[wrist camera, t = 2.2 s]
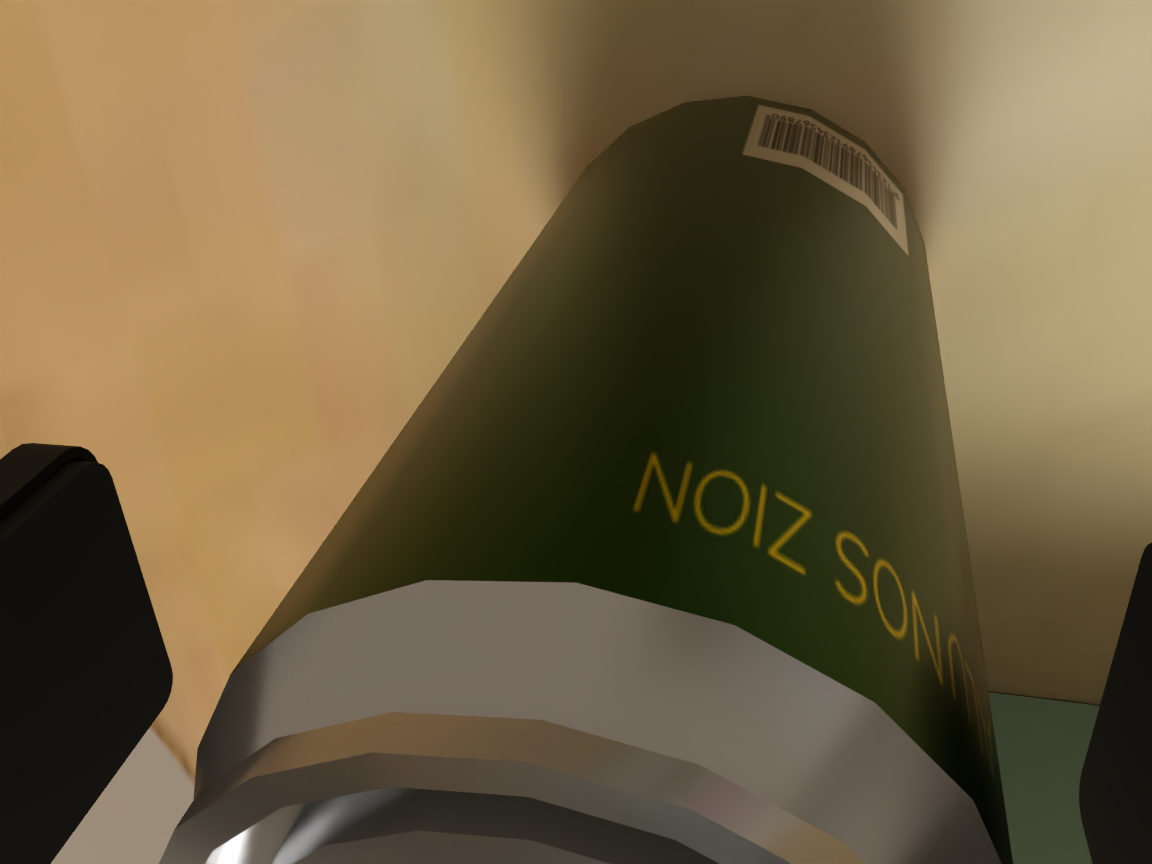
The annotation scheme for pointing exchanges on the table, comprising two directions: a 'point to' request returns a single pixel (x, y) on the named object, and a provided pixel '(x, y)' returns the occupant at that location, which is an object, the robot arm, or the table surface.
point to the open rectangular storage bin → (1043, 775)
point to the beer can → (646, 553)
